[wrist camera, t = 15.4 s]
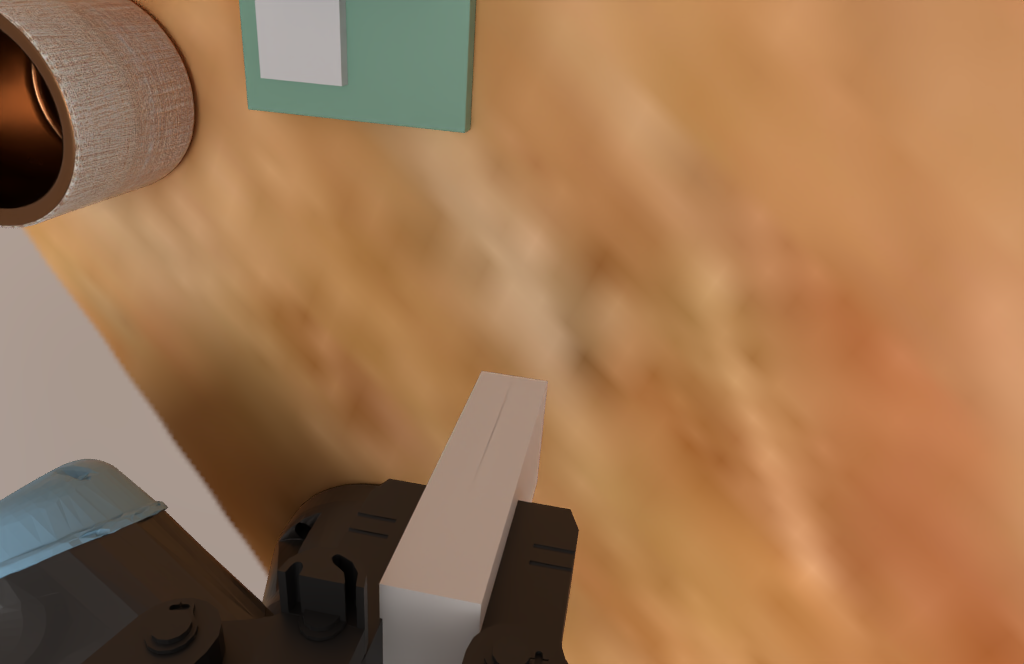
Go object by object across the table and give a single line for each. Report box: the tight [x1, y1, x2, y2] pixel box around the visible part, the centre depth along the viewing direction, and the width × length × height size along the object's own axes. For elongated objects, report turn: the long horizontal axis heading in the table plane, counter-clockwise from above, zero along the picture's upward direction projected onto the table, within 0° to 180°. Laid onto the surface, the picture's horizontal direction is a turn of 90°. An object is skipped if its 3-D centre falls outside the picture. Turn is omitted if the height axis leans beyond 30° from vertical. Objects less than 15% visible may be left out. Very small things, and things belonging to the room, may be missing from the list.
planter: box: [0, 0, 195, 228], centre depth 37 cm, size 11×11×10 cm
